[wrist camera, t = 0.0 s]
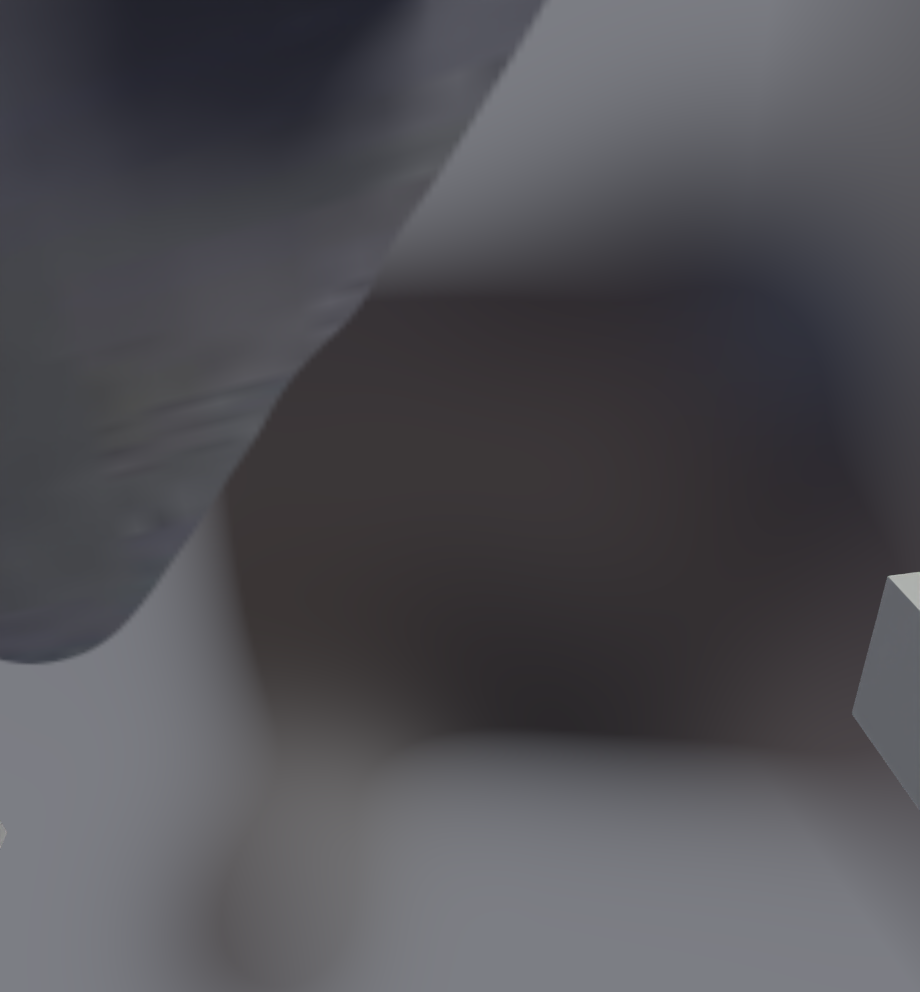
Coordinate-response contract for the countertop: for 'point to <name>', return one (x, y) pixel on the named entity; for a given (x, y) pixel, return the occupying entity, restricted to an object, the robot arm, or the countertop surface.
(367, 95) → the countertop surface
